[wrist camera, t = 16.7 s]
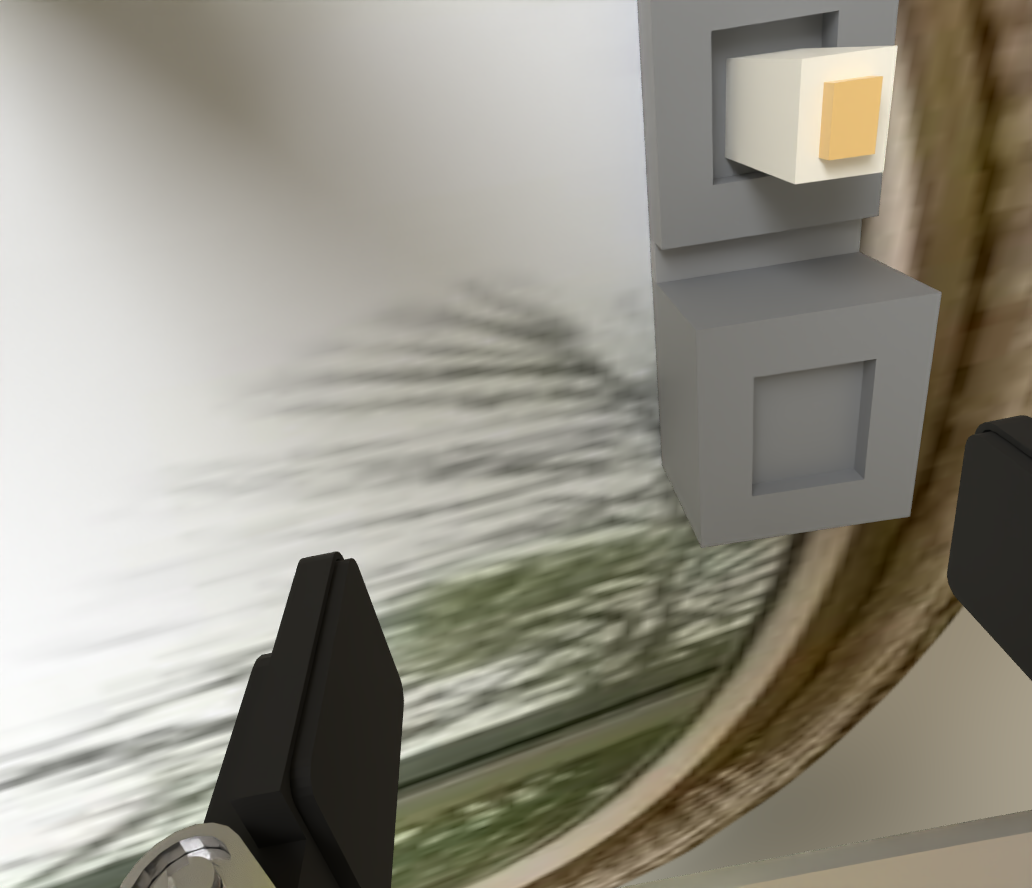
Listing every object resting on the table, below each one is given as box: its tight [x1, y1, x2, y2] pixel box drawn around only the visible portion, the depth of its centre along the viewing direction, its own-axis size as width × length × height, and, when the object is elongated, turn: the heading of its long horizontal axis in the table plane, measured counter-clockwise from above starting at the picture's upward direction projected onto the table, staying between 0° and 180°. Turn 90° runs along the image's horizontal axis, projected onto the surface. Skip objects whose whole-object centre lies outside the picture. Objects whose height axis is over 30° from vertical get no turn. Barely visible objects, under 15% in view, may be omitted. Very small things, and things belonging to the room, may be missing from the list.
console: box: [637, 0, 942, 548], centre depth 32 cm, size 24×10×8 cm, turn 8°
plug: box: [725, 46, 898, 184], centre depth 28 cm, size 4×3×9 cm
